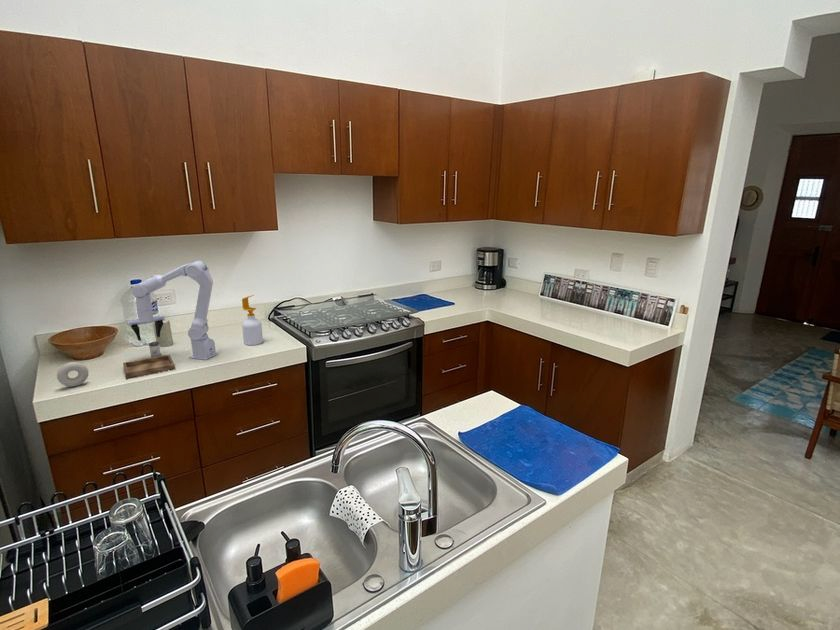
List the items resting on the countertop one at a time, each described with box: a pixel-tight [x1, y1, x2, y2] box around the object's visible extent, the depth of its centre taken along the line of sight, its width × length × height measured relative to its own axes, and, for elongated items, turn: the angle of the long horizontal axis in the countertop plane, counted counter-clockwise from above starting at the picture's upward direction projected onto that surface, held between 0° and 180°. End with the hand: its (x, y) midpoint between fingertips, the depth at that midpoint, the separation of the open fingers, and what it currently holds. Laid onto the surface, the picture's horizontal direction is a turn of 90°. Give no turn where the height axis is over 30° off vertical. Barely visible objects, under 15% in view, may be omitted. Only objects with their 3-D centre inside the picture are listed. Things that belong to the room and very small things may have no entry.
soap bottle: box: [241, 294, 264, 346], centre depth 227 cm, size 9×9×25 cm
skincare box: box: [152, 319, 174, 347], centre depth 224 cm, size 6×4×12 cm
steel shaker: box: [148, 341, 162, 358], centre depth 209 cm, size 4×4×7 cm
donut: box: [56, 361, 89, 387], centre depth 178 cm, size 10×4×10 cm, turn 133°
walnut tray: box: [122, 354, 176, 380], centre depth 196 cm, size 18×14×2 cm
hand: (149, 338), depth 206 cm, fingers open, 7 cm apart
